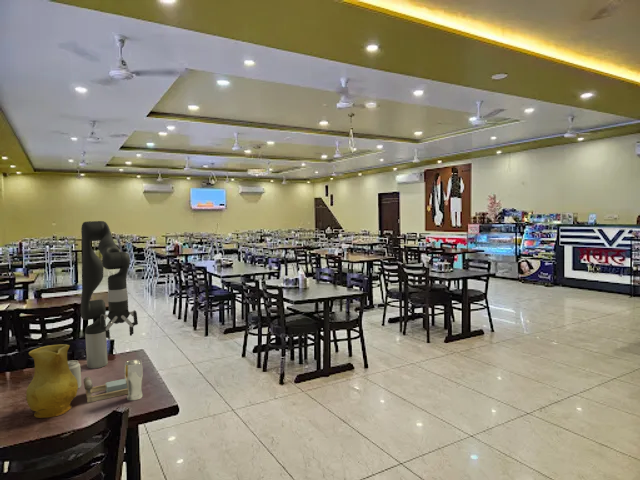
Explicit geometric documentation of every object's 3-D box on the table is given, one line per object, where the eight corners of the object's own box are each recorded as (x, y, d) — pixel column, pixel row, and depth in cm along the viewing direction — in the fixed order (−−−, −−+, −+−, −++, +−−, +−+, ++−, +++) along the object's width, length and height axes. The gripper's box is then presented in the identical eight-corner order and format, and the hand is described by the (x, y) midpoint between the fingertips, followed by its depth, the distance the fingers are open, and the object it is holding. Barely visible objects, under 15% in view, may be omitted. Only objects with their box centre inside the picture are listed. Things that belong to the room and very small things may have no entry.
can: (58, 390, 184) (56, 363, 183) (74, 384, 191) (73, 358, 190) (68, 393, 181) (66, 366, 180) (85, 387, 187) (83, 360, 187)
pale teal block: (105, 391, 183) (105, 382, 183) (126, 387, 187) (125, 378, 187) (107, 396, 178) (107, 387, 178) (128, 392, 182) (127, 383, 182)
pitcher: (21, 424, 154) (20, 356, 154) (32, 406, 171) (31, 344, 171) (75, 416, 161) (74, 350, 161) (81, 399, 178) (80, 339, 178)
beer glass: (126, 402, 172) (124, 366, 171) (125, 396, 178) (123, 361, 177) (144, 398, 175) (143, 363, 174) (143, 392, 181) (141, 358, 180)
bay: (84, 393, 181) (83, 376, 180) (126, 384, 190) (125, 368, 189) (85, 403, 172) (84, 385, 171) (130, 393, 180) (129, 376, 180)
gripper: (135, 295, 186) (136, 332, 187) (98, 299, 179) (100, 337, 180) (137, 298, 179) (139, 336, 180) (99, 303, 172) (101, 342, 173)
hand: (119, 336), depth 180 cm, fingers open, 8 cm apart
